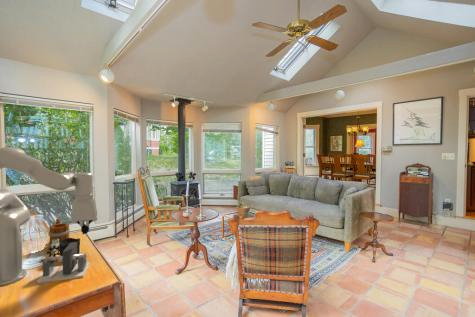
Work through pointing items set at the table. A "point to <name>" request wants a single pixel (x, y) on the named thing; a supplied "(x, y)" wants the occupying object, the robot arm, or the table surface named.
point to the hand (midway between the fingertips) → (85, 233)
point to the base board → (58, 274)
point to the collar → (69, 258)
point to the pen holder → (66, 242)
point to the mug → (58, 231)
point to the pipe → (49, 260)
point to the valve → (54, 248)
